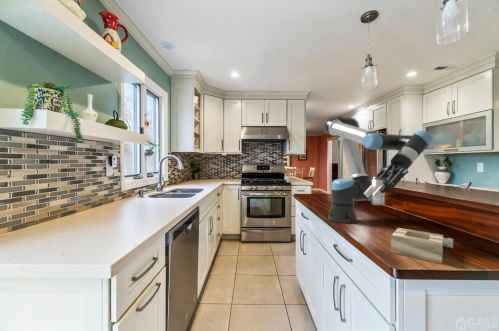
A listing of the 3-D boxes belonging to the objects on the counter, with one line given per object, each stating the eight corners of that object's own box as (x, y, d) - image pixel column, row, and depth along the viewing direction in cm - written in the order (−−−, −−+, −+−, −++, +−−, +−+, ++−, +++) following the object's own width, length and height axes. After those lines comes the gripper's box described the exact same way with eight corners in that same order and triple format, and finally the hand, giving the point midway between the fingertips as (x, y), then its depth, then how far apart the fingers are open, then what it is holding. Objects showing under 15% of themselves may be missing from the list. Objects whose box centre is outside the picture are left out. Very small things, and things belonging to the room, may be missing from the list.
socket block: (397, 242, 93) (397, 227, 93) (442, 251, 84) (442, 234, 84) (391, 252, 82) (391, 235, 82) (441, 263, 73) (442, 245, 73)
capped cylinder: (373, 202, 104) (373, 176, 104) (385, 204, 101) (385, 177, 101) (370, 204, 100) (370, 177, 100) (383, 205, 97) (383, 177, 97)
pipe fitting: (427, 241, 96) (425, 244, 90) (427, 232, 96) (426, 235, 91) (452, 246, 90) (452, 250, 85) (452, 236, 91) (453, 239, 85)
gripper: (427, 165, 94) (391, 206, 91) (393, 165, 112) (362, 199, 109) (416, 152, 93) (379, 193, 91) (383, 154, 111) (352, 188, 108)
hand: (370, 196), depth 100 cm, fingers closed on capped cylinder, 5 cm apart
